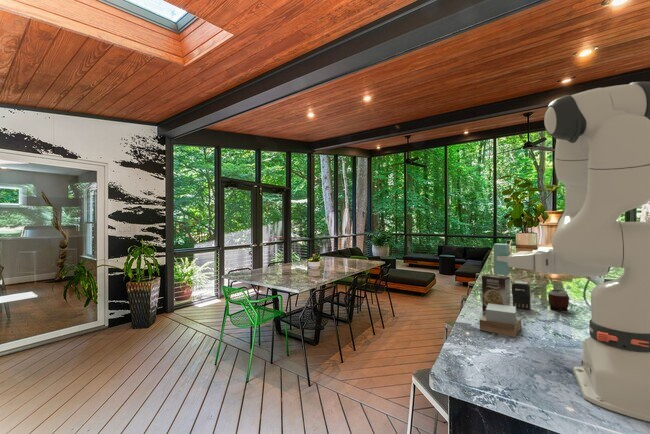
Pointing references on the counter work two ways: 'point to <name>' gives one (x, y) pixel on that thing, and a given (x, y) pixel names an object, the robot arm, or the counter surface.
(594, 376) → the robot arm
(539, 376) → the counter surface
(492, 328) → the tower base
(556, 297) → the mate gourd
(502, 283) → the coffee box
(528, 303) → the battery charger
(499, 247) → the teal block
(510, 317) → the tower top
